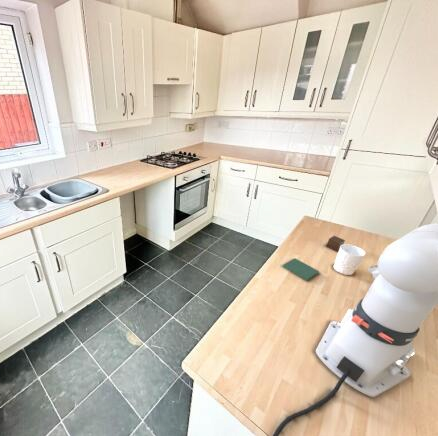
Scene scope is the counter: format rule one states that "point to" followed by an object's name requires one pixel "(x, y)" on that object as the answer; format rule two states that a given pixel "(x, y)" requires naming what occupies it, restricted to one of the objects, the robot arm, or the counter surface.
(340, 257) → the white cup
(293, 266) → the flat green block
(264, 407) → the counter surface
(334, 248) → the walnut block
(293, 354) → the counter surface
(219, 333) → the counter surface
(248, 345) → the counter surface
